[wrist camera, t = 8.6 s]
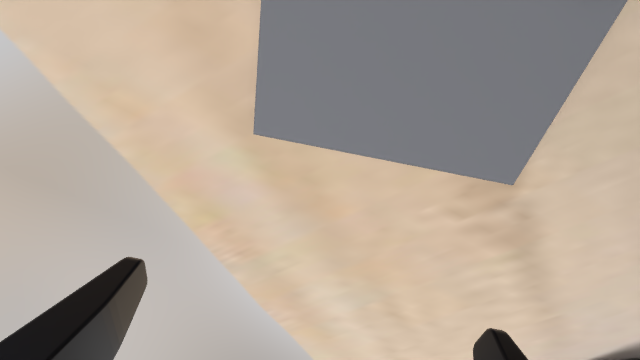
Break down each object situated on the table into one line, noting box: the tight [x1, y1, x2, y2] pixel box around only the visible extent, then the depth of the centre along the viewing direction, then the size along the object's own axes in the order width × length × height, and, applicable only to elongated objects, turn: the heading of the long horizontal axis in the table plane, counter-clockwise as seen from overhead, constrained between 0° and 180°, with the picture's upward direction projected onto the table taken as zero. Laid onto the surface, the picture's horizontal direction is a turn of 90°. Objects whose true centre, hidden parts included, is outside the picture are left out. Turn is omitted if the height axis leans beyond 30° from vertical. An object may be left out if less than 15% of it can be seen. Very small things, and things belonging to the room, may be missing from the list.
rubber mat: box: [254, 0, 627, 185], centre depth 16 cm, size 15×15×1 cm
